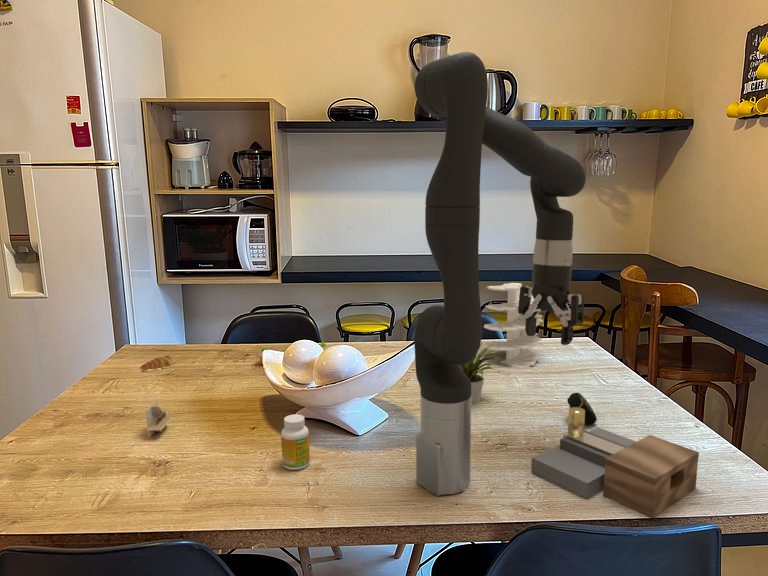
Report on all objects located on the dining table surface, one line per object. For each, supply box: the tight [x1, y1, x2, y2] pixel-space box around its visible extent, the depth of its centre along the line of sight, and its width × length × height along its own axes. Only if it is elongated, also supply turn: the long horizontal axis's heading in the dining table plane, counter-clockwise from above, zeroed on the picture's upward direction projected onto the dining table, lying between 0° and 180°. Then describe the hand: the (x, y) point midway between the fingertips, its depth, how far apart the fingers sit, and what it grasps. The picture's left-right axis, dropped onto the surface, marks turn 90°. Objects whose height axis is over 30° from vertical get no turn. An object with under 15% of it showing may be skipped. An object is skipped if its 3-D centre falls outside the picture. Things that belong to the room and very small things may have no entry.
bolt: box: [562, 407, 624, 456], centre depth 108 cm, size 4×11×7 cm, turn 37°
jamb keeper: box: [602, 434, 700, 519], centre depth 99 cm, size 15×9×7 cm, turn 127°
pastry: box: [140, 354, 175, 370], centre depth 169 cm, size 9×7×4 cm
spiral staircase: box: [481, 282, 544, 370], centre depth 172 cm, size 18×18×25 cm
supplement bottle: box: [280, 413, 311, 471], centre depth 111 cm, size 5×5×10 cm
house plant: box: [458, 340, 498, 405], centre depth 141 cm, size 14×14×16 cm
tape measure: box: [567, 392, 598, 425], centre depth 129 cm, size 7×7×4 cm
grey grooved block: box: [530, 427, 637, 500], centre depth 109 cm, size 22×12×5 cm, turn 127°
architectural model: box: [145, 400, 173, 439], centre depth 125 cm, size 3×7×7 cm, turn 0°
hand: (547, 339), depth 115 cm, fingers open, 8 cm apart
